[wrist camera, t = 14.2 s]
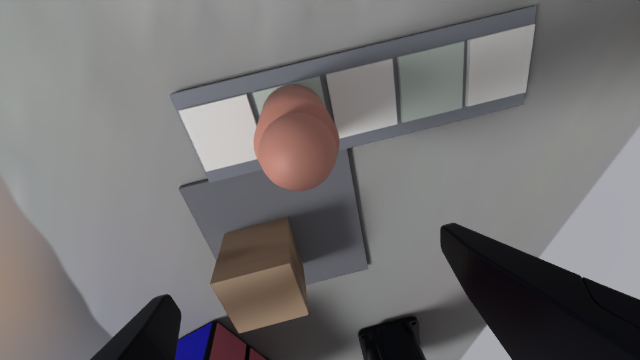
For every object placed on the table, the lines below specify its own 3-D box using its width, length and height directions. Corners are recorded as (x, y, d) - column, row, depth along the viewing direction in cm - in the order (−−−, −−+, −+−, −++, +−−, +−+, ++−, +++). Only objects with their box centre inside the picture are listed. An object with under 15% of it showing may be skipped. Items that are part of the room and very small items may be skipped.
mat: (366, 265, 25) (368, 268, 25) (238, 298, 25) (238, 302, 25) (345, 145, 20) (346, 146, 19) (180, 186, 19) (178, 188, 19)
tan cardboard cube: (303, 263, 24) (308, 314, 19) (246, 278, 24) (238, 333, 19) (287, 216, 21) (289, 263, 17) (224, 233, 21) (210, 284, 17)
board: (515, 102, 20) (526, 105, 19) (211, 178, 20) (208, 185, 19) (527, 6, 17) (541, 5, 16) (173, 92, 17) (167, 95, 16)
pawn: (330, 140, 18) (356, 200, 12) (271, 153, 18) (263, 221, 12) (319, 77, 16) (343, 106, 10) (253, 92, 16) (231, 130, 10)
